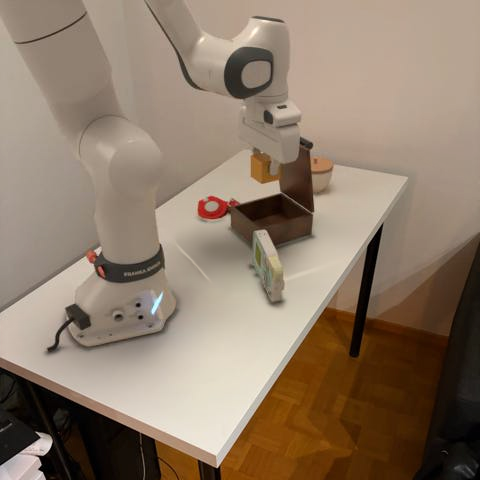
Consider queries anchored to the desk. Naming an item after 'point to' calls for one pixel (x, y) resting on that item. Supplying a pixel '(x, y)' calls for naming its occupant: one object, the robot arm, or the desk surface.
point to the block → (262, 169)
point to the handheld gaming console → (267, 264)
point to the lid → (299, 177)
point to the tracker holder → (214, 207)
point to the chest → (272, 219)
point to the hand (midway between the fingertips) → (265, 169)
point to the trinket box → (320, 173)
